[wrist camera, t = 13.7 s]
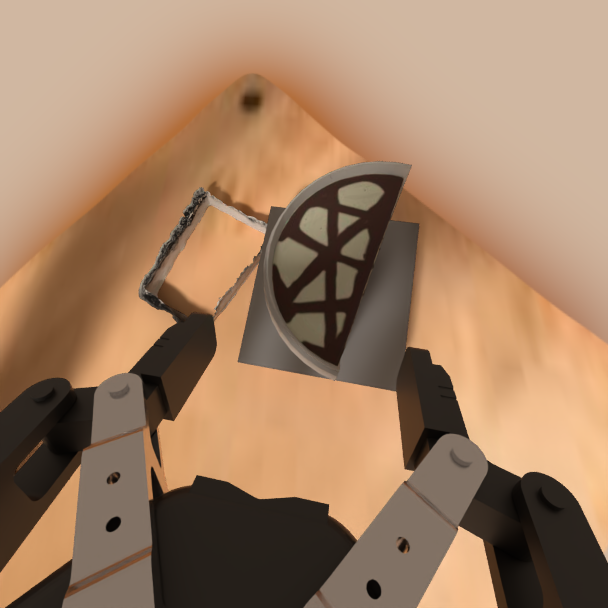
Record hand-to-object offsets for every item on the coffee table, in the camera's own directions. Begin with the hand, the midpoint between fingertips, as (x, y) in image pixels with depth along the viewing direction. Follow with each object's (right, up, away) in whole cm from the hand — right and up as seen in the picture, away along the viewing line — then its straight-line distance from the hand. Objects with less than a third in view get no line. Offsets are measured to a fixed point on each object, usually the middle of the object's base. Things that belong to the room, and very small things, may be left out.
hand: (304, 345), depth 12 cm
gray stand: (+3, +2, +17) cm, 18 cm away
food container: (+2, +3, +13) cm, 13 cm away
